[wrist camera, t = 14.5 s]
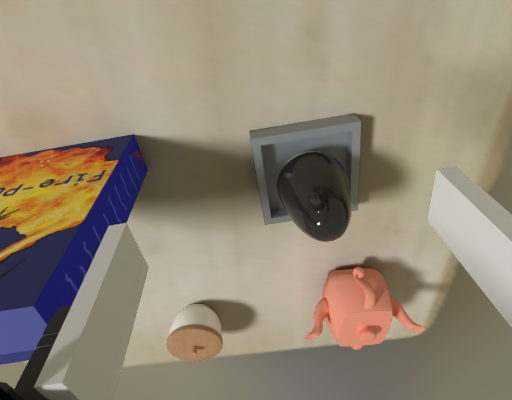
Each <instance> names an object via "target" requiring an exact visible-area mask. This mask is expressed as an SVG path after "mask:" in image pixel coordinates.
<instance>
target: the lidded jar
mask: <svg viewBox="0 0 512 400" xmlns="http://www.w3.org/2000/svg"><path fill="white" fill-rule="evenodd" d="M222 344H223V342H222V329H221V324H220V320H219V318H218V316H217V315H216V313H215V312H214V311H213V310H211V309H210V307H208V306H207V305H204V304H198V303H197V304H191V305H189V306H187V307H186V308H185V309H183V310H182V311H180V312H179V313H178V314H177V315H176V317H175V318H174V320H173V322H172V325H171V328H170V331H169V337H168V339H167V349H168V351H169V352H170V353H171V354H172V355H173V356H175V357H177V358H179V359H182V360H186V361H202V360H206V359H209V358H212V357H214V356H215V355H217V354H218V353H219V352H220V350H221V349H222Z"/></svg>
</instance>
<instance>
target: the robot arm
mask: <svg viewBox="0 0 512 400" xmlns="http://www.w3.org/2000/svg"><path fill="white" fill-rule="evenodd" d="M428 222H429V223H430V225H431V226H432V227H433V228H434V230H435V231H436V232H437V233H438V235H439V236H440V237H441V239H442V240H443V241H444V242H445V244H446V245H447V246H448V247H449V249H450V250H451V251H452V253H453V254H454V255H455V256H456V258H457V259H458V260H459V261H460V263H461V264H462V265H463V266H464V268H465V269H466V270H467V272H468V273H469V274H470V275H471V277H472V278H473V279H474V280H475V282H476V283H477V284H478V285H479V287H480V288H481V289H482V291H483V292H484V293H485V294H486V296H487V297H488V298H489V299H490V301H491V302H492V303H493V305H494V306H495V307H496V308H497V309H498V310H499V312H500V313H501V315H502V316H503V317H504V319H505V320H506V321H507V322H508V324H509V325H510V326H511V327H512V215H511V214H510V213H509V212H508V211H507V210H505V209H504V208H503V207H502V206H501V205H500V204H499V203H497V202H496V201H495V200H494V199H493V198H492V197H491V196H489V195H488V194H487V193H486V192H485V191H484V190H482V189H481V188H480V187H479V186H478V185H477V184H476V183H474V182H473V181H472V180H471V179H470V178H469V177H468V176H466V175H465V174H464V173H463V172H462V171H461V170H460V169H458V168H457V167H456V166H453V167H447V168H442V169H437V171H436V177H435V182H434V188H433V193H432V199H431V204H430V210H429V215H428ZM148 268H149V267H148V265H147V263H146V261H145V259H144V257H143V255H142V253H141V251H140V249H139V247H138V245H137V243H136V241H135V239H134V237H133V235H132V233H131V231H130V229H129V227H128V225H127V223H123V224H117V225H111V226H108V229H107V231H106V233H105V235H104V237H103V239H102V242H101V244H100V246H99V248H98V250H97V252H96V254H95V257H94V259H93V261H92V263H91V265H90V267H89V270H88V272H87V274H86V276H85V278H84V280H83V282H82V285H81V287H80V289H79V291H78V293H77V295H76V298H75V300H74V302H73V304H72V306H65V307H61V308H60V309H59V310H58V311H57V313H56V314H55V315H54V316H53V317H52V318H51V319H50V320H49V322H48V324H47V326H46V328H45V330H44V332H43V334H42V338H40V340H39V342H38V344H37V346H36V350H34V352H33V354H32V356H31V358H30V360H29V362H28V364H27V366H26V367H25V370H24V371H23V374H22V375H21V377H20V379H19V381H18V383H17V385H16V387H15V389H13V388H12V387H10V386H9V385H8V384H7V383H2V382H0V400H113V399H114V396H115V392H116V388H117V384H118V380H119V377H120V373H121V369H122V366H123V362H124V358H125V354H126V351H127V347H128V343H129V339H130V336H131V332H132V328H133V324H134V321H135V317H136V313H137V309H138V306H139V302H140V298H141V294H142V291H143V287H144V283H145V279H146V276H147V272H148Z"/></svg>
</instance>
